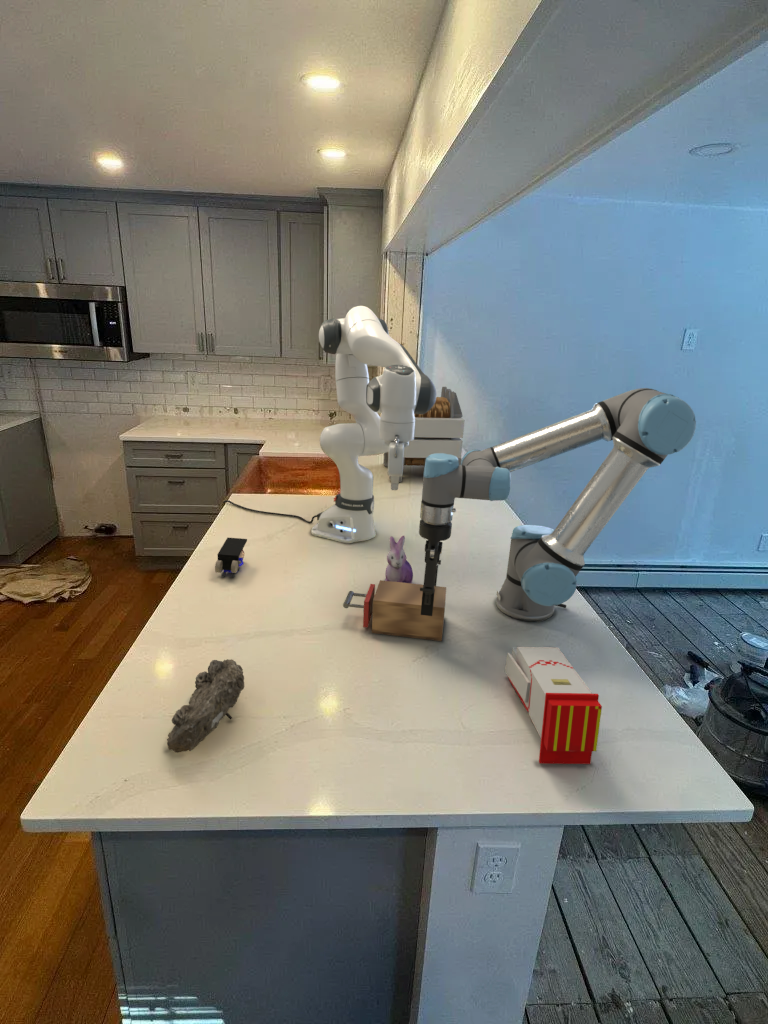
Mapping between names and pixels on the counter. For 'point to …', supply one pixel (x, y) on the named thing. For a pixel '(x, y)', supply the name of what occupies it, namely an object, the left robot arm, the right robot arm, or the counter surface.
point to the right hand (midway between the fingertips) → (428, 601)
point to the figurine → (398, 563)
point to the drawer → (367, 603)
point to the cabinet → (407, 611)
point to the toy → (556, 704)
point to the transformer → (435, 432)
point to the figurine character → (230, 556)
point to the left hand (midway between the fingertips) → (394, 484)
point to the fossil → (206, 705)
